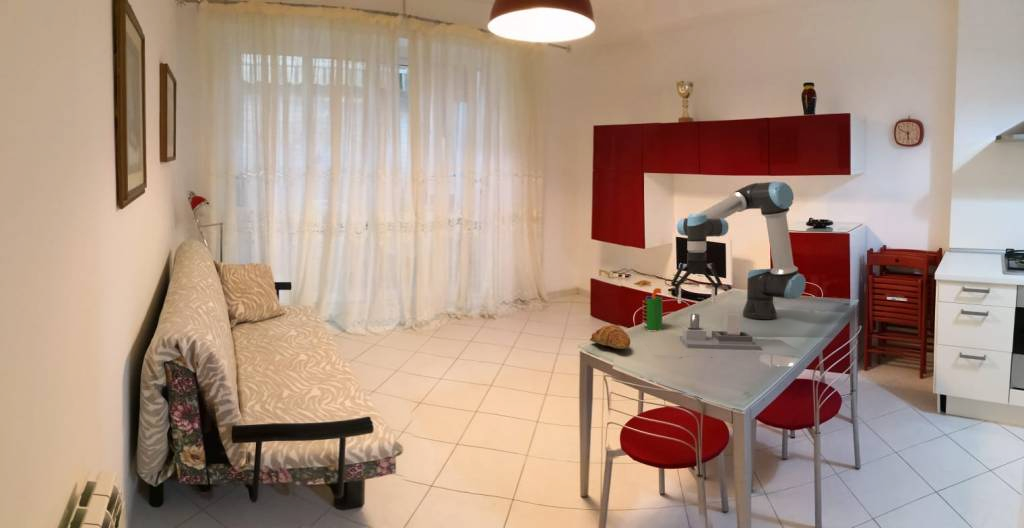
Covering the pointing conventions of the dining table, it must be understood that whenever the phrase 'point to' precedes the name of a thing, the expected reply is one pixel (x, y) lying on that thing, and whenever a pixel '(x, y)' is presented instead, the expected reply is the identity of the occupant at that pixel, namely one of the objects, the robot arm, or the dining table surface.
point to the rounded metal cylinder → (694, 322)
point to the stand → (717, 340)
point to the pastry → (611, 337)
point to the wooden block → (732, 324)
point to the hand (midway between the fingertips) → (696, 303)
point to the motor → (653, 311)
